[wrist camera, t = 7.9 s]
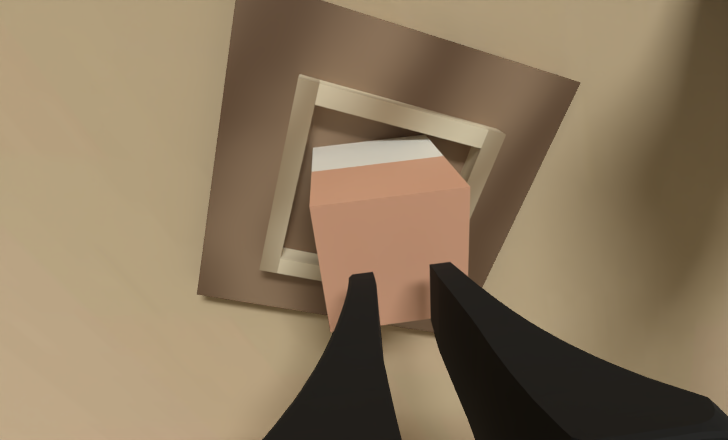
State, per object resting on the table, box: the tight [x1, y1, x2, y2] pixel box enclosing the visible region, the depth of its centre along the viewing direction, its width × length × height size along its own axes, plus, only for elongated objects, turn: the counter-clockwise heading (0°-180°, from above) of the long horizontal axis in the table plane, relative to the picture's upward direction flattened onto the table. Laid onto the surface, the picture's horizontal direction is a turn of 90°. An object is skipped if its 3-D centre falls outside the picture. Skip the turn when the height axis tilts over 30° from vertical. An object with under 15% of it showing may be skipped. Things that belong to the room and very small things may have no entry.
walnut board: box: [197, 0, 580, 332], centre depth 19 cm, size 14×14×2 cm
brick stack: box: [309, 135, 470, 332], centre depth 16 cm, size 5×5×6 cm
